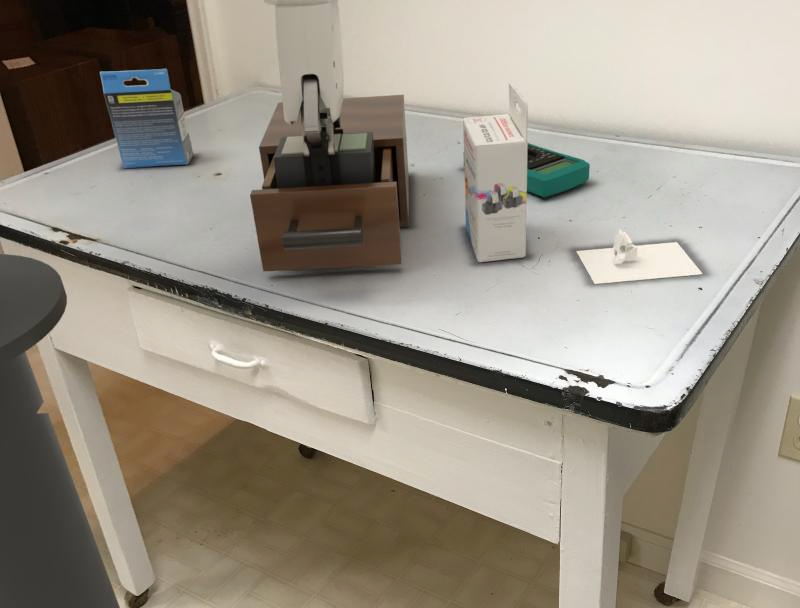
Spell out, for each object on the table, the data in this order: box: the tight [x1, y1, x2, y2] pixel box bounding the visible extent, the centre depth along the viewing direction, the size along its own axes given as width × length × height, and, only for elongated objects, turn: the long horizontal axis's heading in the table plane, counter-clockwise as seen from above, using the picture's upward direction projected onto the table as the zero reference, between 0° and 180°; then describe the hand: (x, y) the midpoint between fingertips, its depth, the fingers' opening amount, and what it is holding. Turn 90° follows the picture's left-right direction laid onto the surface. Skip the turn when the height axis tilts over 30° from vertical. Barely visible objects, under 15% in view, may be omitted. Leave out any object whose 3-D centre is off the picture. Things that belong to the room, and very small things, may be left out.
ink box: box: [462, 81, 529, 263], centre depth 82 cm, size 8×5×15 cm, turn 5°
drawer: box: [249, 146, 403, 273], centre depth 84 cm, size 19×13×8 cm
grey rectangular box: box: [274, 132, 376, 189], centre depth 82 cm, size 9×6×5 cm, turn 90°
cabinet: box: [258, 94, 410, 228], centre depth 95 cm, size 16×15×10 cm
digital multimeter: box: [463, 142, 591, 199], centre depth 100 cm, size 7×15×3 cm, turn 36°
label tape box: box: [99, 68, 194, 169], centre depth 110 cm, size 9×4×12 cm, turn 88°
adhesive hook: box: [611, 228, 638, 265], centre depth 80 cm, size 3×3×3 cm
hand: (328, 180), depth 83 cm, fingers closed on grey rectangular box, 6 cm apart
